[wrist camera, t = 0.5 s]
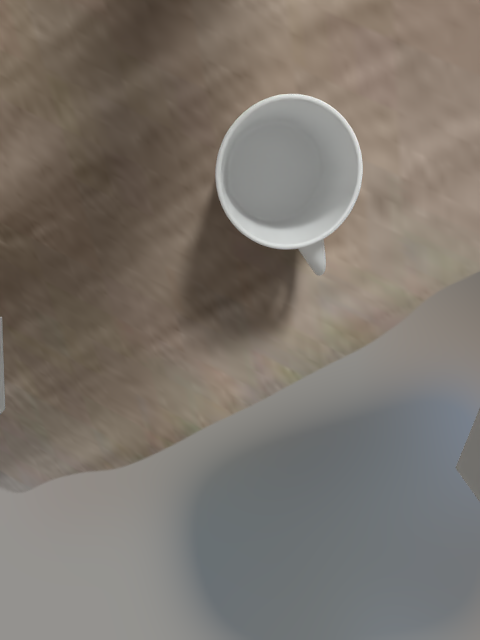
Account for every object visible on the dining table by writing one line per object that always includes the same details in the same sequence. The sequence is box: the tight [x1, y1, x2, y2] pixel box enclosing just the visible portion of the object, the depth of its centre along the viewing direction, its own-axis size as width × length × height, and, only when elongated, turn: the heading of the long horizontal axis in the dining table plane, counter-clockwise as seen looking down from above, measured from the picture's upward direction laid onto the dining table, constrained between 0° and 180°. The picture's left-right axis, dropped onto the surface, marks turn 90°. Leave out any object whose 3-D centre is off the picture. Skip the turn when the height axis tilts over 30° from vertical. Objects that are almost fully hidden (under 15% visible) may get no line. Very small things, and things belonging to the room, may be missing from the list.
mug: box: [215, 94, 363, 275], centre depth 30 cm, size 9×12×11 cm
